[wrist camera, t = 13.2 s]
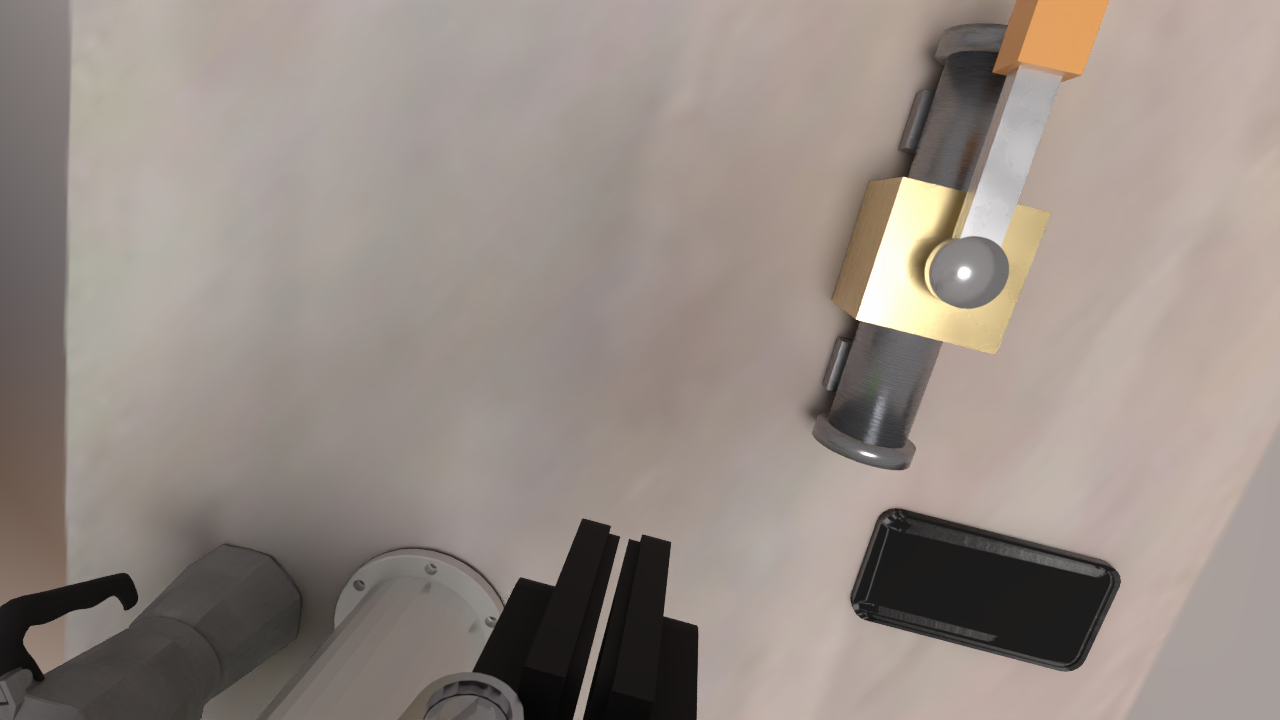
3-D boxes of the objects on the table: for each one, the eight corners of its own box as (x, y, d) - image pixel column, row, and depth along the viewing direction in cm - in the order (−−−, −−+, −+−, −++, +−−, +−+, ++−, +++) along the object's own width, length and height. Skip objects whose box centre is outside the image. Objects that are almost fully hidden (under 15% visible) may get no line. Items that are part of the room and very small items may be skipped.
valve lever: (977, 310, 31) (999, 318, 29) (911, 294, 31) (927, 301, 29) (1094, -13, 28) (1129, -33, 25) (1018, -29, 28) (1046, -50, 25)
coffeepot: (328, 672, 49) (117, 932, 31) (216, 681, 50) (-48, 937, 33) (268, 481, 45) (-6, 653, 28) (149, 497, 47) (-184, 670, 29)
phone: (885, 509, 41) (1127, 571, 40) (881, 501, 42) (1116, 561, 41) (847, 616, 43) (1077, 677, 42) (844, 606, 44) (1068, 665, 43)
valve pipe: (905, 445, 40) (949, 499, 33) (794, 416, 41) (814, 463, 33) (1042, 71, 35) (1132, 35, 28) (913, 41, 35) (968, -3, 28)
